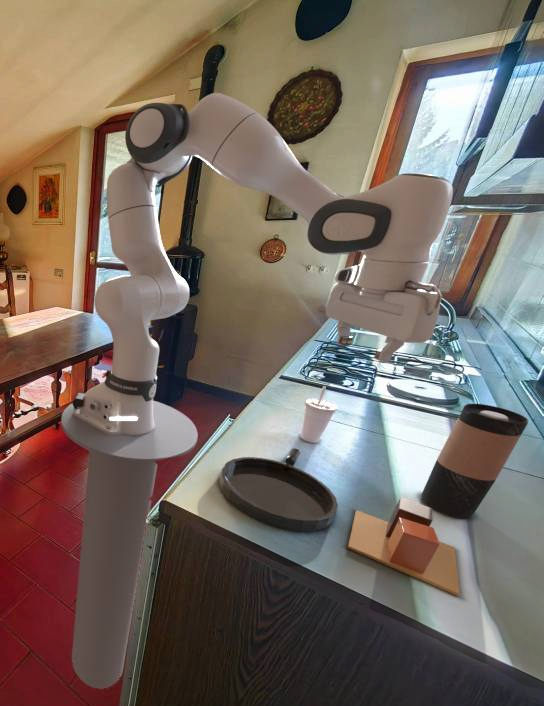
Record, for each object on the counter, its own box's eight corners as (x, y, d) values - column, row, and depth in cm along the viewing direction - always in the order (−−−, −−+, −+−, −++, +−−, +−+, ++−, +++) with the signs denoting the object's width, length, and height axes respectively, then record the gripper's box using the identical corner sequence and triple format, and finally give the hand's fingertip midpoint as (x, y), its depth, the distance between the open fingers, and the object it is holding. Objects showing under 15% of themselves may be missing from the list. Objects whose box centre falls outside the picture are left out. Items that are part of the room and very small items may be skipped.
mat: (347, 548, 64) (348, 545, 64) (355, 512, 72) (356, 509, 72) (458, 596, 56) (459, 594, 56) (453, 549, 64) (454, 547, 64)
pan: (204, 496, 76) (207, 485, 75) (236, 456, 89) (239, 447, 88) (323, 549, 64) (328, 538, 63) (340, 494, 77) (344, 484, 76)
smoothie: (306, 430, 101) (322, 381, 95) (331, 443, 95) (350, 391, 90) (288, 434, 99) (304, 384, 93) (313, 447, 93) (331, 394, 88)
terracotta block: (389, 561, 61) (403, 532, 59) (385, 545, 64) (399, 517, 62) (423, 574, 59) (440, 544, 57) (418, 556, 62) (433, 527, 60)
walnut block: (385, 536, 66) (399, 508, 64) (387, 524, 69) (400, 497, 66) (417, 549, 64) (432, 520, 61) (418, 536, 66) (432, 508, 64)
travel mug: (483, 514, 72) (540, 419, 65) (459, 523, 70) (515, 426, 62) (433, 489, 79) (478, 400, 71) (409, 497, 77) (454, 406, 69)
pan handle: (279, 470, 83) (282, 463, 82) (290, 452, 89) (292, 445, 89) (289, 474, 82) (292, 467, 81) (299, 455, 88) (301, 448, 87)
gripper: (466, 287, 59) (428, 372, 64) (361, 271, 78) (339, 338, 83) (424, 286, 59) (390, 371, 64) (330, 270, 78) (310, 337, 83)
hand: (361, 352), depth 74 cm, fingers open, 8 cm apart
